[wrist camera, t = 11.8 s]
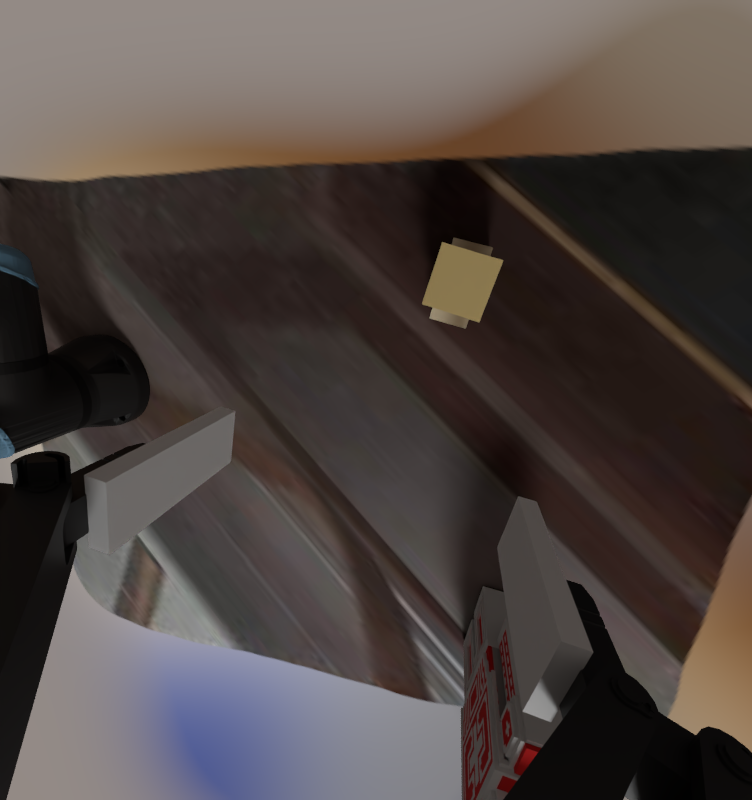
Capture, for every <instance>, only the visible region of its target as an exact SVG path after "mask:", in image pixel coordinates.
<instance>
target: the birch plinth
mask: <svg viewBox="0 0 752 800" xmlns="http://www.w3.org/2000/svg"><path fill="white" fill-rule="evenodd" d="M452 245H454V246H457V247H461V248H464V249H467V250H471V251H474V252H477V253H480V254H484V255H487V256H490V255H491V252H492V250H493V247H489V246H485V245H481V244H477V243H473V242H469V241H465V240H462V239H458V238H453V241H452ZM430 319H434V320H437V321H441V322H444V323H448V324H451V325H455V326H458V327H462V328H465V329H466V326H467V323H468V320H469V319H467V318H464V317H461V316H458V315H454V314H451V313H448V312H445V311H442V310H439V309H436V308H432V311H431V314H430Z"/></svg>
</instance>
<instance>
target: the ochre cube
mask: <svg viewBox="0 0 752 800" xmlns="http://www.w3.org/2000/svg"><path fill="white" fill-rule="evenodd" d="M502 263H503V260H500V259H497V258H494V257H490V256H487V255H484V254H480V253H477V252H474V251H471V250H467V249H464V248H461V247H457V246H454V245H451V244H447V243H444V242H442V244H441V247H440V250H439V253H438V256H437V260H436V263H435V266H434V269H433V272H432V275H431V278H430V281H429V284H428V287H427V290H426V293H425V296H424V299H423V302H422V304H423V305H426V306H430V307H433V308H436V309H439V310H442V311H445V312H448V313H451V314H454V315H458V316H461V317H464V318H467V319H470V320H473V321H476V322H480V319H481V316H482V314H483V311H484V309H485V306H486V304H487V301H488V299H489V296H490V293H491V291H492V288H493V286H494V283H495V281H496V278H497V275H498V273H499V270H500V268H501V265H502Z"/></svg>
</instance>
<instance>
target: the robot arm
mask: <svg viewBox="0 0 752 800" xmlns="http://www.w3.org/2000/svg"><path fill="white" fill-rule="evenodd" d="M38 289H39V286H38V284H37V283H36V282H35V278H34V273H33V269H32V265H31V262H30V260H29V258H28V257H27V256H26V255H25V254H24V253H23V252H21V251H20V250H18V249H16V248H14V247H11V246H7V245H3V244H0V458H6V457H10V456H12V455H13V454H14V453H17V452H20V451H22V450H25V449H27V448H30V447H33V446H35V445H37V444H41V443H43V442H46V441H48V440H51V439H54V438H56V437H59V436H62V435H64V434H67V433H70V432H72V431H75V430H77V429H80V428H86V427H102V426H116V425H121V424H124V423H126V422H129V421H131V420H134V419H136V418H137V417H139V416H140V415H141V414H142V413H143V412H144V410H145V409H146V406H147V404H148V401H149V382H148V378H147V374H146V372H145V369H144V367H143V365H142V363H141V362H140V360H139V359H138V357H137V356H136V355H135V353H134V352H133V351H132V350H131V349H130V348H129V347H128V346H126V345H125V344H124V343H122V342H121V341H119V340H117V339H115V338H113V337H110V336H106V335H92V336H85V337H80V338H77V339H75V340H73V341H71V342H69V343H67V344H65V345H63V346H61V347H60V348H58V349H56V350H54V351H52V352H50V353H48V351H47V345H46V339H45V332H44V326H43V320H42V314H41V308H40V302H39V296H38ZM234 421H235V411H234V410H230V409H227V408H224V407H219V408H217V409H215V410H213V411H211V412H209V413H207V414H205V415H203V416H201V417H199V418H197V419H195V420H193V421H191V422H189V423H187V424H185V425H183V426H181V427H179V428H177V429H175V430H173V431H171V432H169V433H167V434H165V435H163V436H161V437H159V438H157V439H155V440H153V441H151V442H149V443H147V444H145V443H140V444H136V445H132V446H128V447H126V448H124V449H122V450H119V451H117V452H115V453H114V455H113V454H111V455H109V456H107V457H105V458H104V459H103V460H102V459H101V460H99V461H97V462H95V463H92V464H90V465H88V466H86V467H84V468H82V469H80V470H78V471H76V472H74V473H72V474H71V469H70V457H69V456H68V455H67V454H65V453H61V452H57V451H44V452H35V453H31V454H28V455H24V456H22V457H20V458H18V459H16V460H15V461H13V462H12V463H11V471H12V477H13V484H6V483H0V800H6V798H7V795H8V791H9V788H10V784H11V781H12V777H13V774H14V770H15V767H16V763H17V759H18V756H19V752H20V749H21V746H22V742H23V738H24V734H25V731H26V728H27V724H28V721H29V717H30V713H31V710H32V707H33V703H34V699H35V696H36V692H37V689H38V685H39V682H40V678H41V675H42V671H43V668H44V664H45V661H46V657H47V654H48V650H49V646H50V643H51V639H52V636H53V632H54V629H55V625H56V621H57V618H58V615H59V611H60V607H61V604H62V601H63V597H64V593H65V590H66V586H67V583H68V579H69V576H70V572H71V569H72V565H73V562H74V558H75V555H76V551H77V542H76V540H78V539H79V538H81V537H82V536H84V535H85V534H87V533H88V542H89V548H91V549H94V550H97V551H99V552H102V553H105V554H107V555H110V554H112V553H113V552H114V551H116V550H117V549H118V548H119V547H121V546H122V545H123V544H125V543H126V542H127V541H129V540H130V539H131V538H132V537H134V536H135V535H136V534H138V533H139V532H140V531H142V530H143V529H144V528H145V527H147V526H148V525H149V524H151V523H152V522H153V521H155V520H156V519H157V518H158V517H160V516H161V515H162V514H164V513H165V512H166V511H168V510H169V509H170V508H171V507H173V506H174V505H175V504H177V503H178V502H179V501H181V500H182V499H183V498H184V497H186V496H187V495H188V494H190V493H191V492H192V491H194V490H195V489H196V488H197V487H199V486H200V485H201V484H203V483H204V482H205V481H207V480H208V479H209V478H210V477H212V476H213V475H214V474H216V473H217V472H218V471H220V470H221V469H222V468H223V467H225V466H226V465H227V464H229V463H230V462H231V454H232V443H233V432H234ZM497 551H498V558H499V564H500V571H501V577H502V583H503V590H504V596H505V603H506V609H507V616H508V622H509V628H510V635H511V641H512V648H513V654H514V660H515V667H516V673H517V680H518V686H519V692H520V699H521V705H522V712H525V713H528V714H530V715H533V716H536V717H538V718H541V719H544V720H546V721H549V722H552V720H553V718H554V717H555V715H556V713H557V712H558V710H559V708H560V711H561V715H562V719H563V720H562V721H561V722H560V724H559V725H558V726H557V728H556V729H555V730H554V732H553V733H552V734H551V736H550V737H549V738H548V740H547V741H546V743H545V744H544V745H543V747H542V748H541V749H540V751H539V752H538V753H537V755H536V756H535V757H534V759H533V760H532V761H531V763H530V764H529V765H528V767H527V768H526V769H525V771H524V772H523V773H522V775H521V776H520V778H519V779H518V780H517V782H516V783H515V784H514V786H513V787H512V788H511V790H510V791H509V792H508V794H507V795H506V796H505V798H504V799H503V800H623V799H624V796H625V797H626V798H627V799H629V800H752V753H751V752H750V751H749V749H748V748H746V747H745V746H744V745H743V744H741V743H740V742H739V741H737V740H736V739H735V738H734V737H732V736H730V735H729V734H727V733H725V732H723V731H721V730H720V729H716V728H712V727H706V728H703V729H701V730H700V731H699V733H698V734H697V735H694V734H693V733H691V732H689V731H688V730H686V729H685V728H683V727H681V726H680V725H678V724H677V723H675V722H673V721H672V720H670V719H669V718H667V717H665V716H664V715H663V714H661V713H660V712H658V709H657V706H656V704H655V702H654V700H653V699H652V697H651V696H650V695H649V693H648V692H647V690H646V689H645V688H644V687H643V686H642V685H641V684H640V683H639V682H638V681H637V680H635V679H634V678H633V677H631V676H630V675H628V674H627V673H626V672H625V670H624V668H623V665H622V663H621V661H620V659H619V656H618V654H617V652H616V650H615V647H614V645H613V643H612V640H611V638H610V636H609V634H608V631H607V629H605V625H604V622H603V620H602V618H601V617H600V613H599V611H598V609H597V606H596V604H595V602H594V600H593V598H592V597H591V596H590V595H589V593H588V592H587V591H586V590H585V588H584V587H583V586H582V585H581V584H578V583H575V582H571V581H568V580H566V578H565V576H564V573H563V570H562V568H561V565H560V562H559V560H558V557H557V554H556V552H555V549H554V546H553V544H552V541H551V538H550V536H549V533H548V530H547V528H546V525H545V522H544V520H543V517H542V514H541V512H540V509H539V506H538V504H537V502H536V501H533V500H529V499H526V498H523V497H520V496H518V498H517V500H516V503H515V505H514V508H513V510H512V512H511V515H510V517H509V520H508V522H507V524H506V527H505V529H504V532H503V534H502V536H501V539H500V541H499V544H498V546H497Z"/></svg>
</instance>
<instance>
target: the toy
mask: <svg viewBox="0 0 752 800" xmlns="http://www.w3.org/2000/svg"><path fill="white" fill-rule="evenodd" d="M463 645H464V696H465V703H464V706H463V708H461V753H462V754H461V757H462V759H461V760H462V800H503V799H504V798H505V796H506V795H507V794H508V792H509V791H510V790H511V788H512V787H513V786H514V784H515V783H516V782H517V780H518V779H519V778H520V776H521V775H522V773H523V772H524V771H525V769H526V768H527V767H528V765H529V764H530V763H531V761H532V760H533V759H534V757H535V756H536V755H537V753H538V752H539V751H540V749H541V748H542V747H543V745H544V744H545V743H546V741H547V740H548V738H549V737H550V736H551V734H552V733H553V732H554V730H555V729H556V728H557V726H558V725H559V724H560V722H561V721H562V720H563V719H562V715H561V711H560V708H559V710H558V712H557V713H556V715H555V717H554V718H553V720H552V722H549V721H546V720H544V719H541V718H538V717H536V716H533V715H530V714H528V713H525V712H522V705H521V699H520V692H519V686H518V680H517V673H516V667H515V660H514V654H513V648H512V641H511V635H510V628H509V622H508V616H507V609H506V603H505V596H504V592H501V591H498V590H495V589H491V588H488V587H484V586H483V587H482V590H481V593H480V596H479V599H478V602H477V605H476V608H475V611H474V619H472V620H471V623H470V626H469V629H468V632H467V634H466V637H465V640H464V643H463Z"/></svg>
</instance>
